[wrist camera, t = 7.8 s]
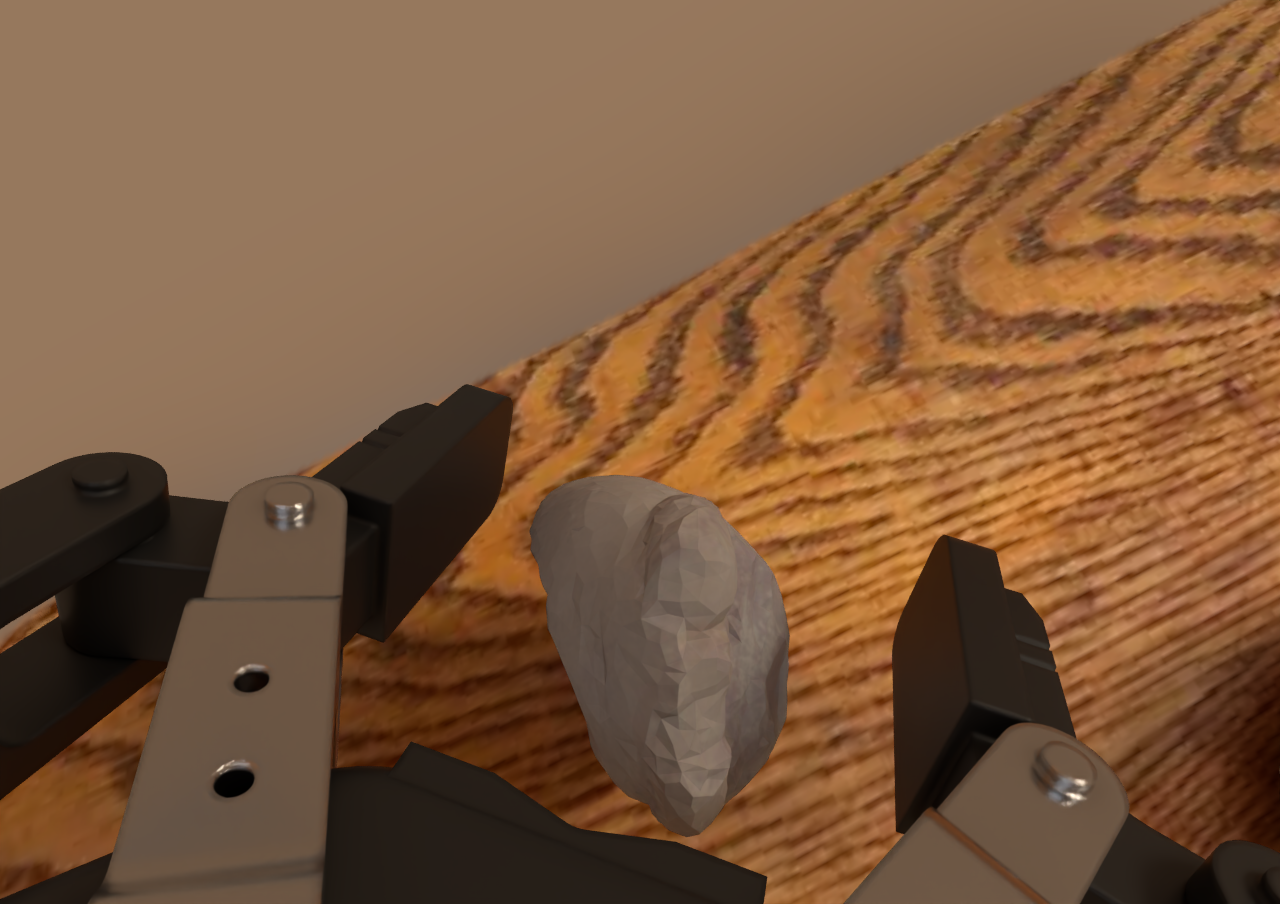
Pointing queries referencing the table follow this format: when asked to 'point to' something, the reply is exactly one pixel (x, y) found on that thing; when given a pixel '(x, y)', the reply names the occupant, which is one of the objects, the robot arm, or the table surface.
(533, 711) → the table surface
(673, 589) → the grey brown rock
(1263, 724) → the table surface
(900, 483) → the table surface
